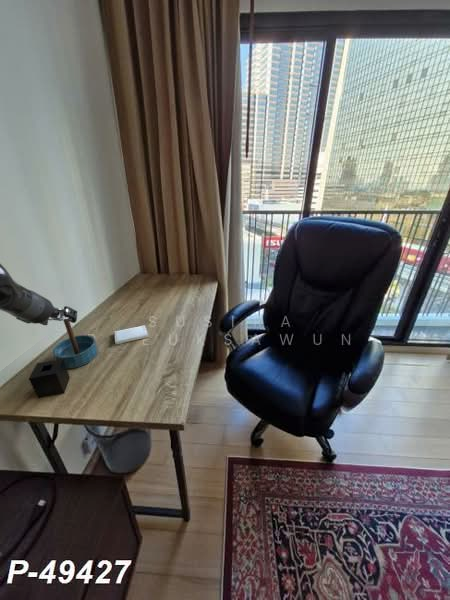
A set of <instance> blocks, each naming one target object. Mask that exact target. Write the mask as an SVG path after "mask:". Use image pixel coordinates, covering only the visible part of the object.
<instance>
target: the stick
mask: <svg viewBox="0 0 450 600" xmlns="http://www.w3.org/2000/svg"><path fill="white" fill-rule="evenodd" d="M65 317H66V318H67V316H65ZM62 321H63V324H64V326H65V329H66V332H67V335H68V338H70V341H71V344H72V347H73V350H74V353H75V355H76V354H79V353H80V351H79V348H78V345H77V342H76V339H75V336H76V335H75V334H74V330H73V326H72V325H71V322H70V321H68V320H62Z"/></svg>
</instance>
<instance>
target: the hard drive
mask: <svg viewBox="0 0 450 600" xmlns="http://www.w3.org/2000/svg"><path fill="white" fill-rule="evenodd" d="M148 337H149V335H148V330H147V327H146V325H140V326H134V327H130V328H124V329H121V330H115V331H114V343H115V345H120V344H124V343H129V342H132V341H137V340H141V339H145V338H148Z"/></svg>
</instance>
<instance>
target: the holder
mask: <svg viewBox="0 0 450 600" xmlns="http://www.w3.org/2000/svg"><path fill="white" fill-rule="evenodd" d="M70 379H71V377H70V374H69V371H68V368H66V366H65V363H64V361H63V359H58V360H55V359H52V360H47V361H41V362H37V363H36V365H35V367H34V368H33V370H32V372H31V374H30V375H29V377H28V381H29V382H30V385H31V387H32V389H33V391H34V393H35V395H36V398H37V399H44V398H48V397H49V398H50V397H53V396H58V395H63V394H65V392H66V390H67V388H68V384H69V382H70Z"/></svg>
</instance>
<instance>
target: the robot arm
mask: <svg viewBox="0 0 450 600" xmlns="http://www.w3.org/2000/svg"><path fill="white" fill-rule="evenodd" d="M0 311H2V312H4V313H7V314H9V315H11V316H12V317H15V319H16V320H18V321H20V322H23V323H25V324H34V325H35V324H40V325H43V326H48V325H49V321H59V322H62V321H63V320H68V321H70V323H72V324H75V323H76V322H78V310H75V309H73V308H72V307H71V306H68V305H65V306H63V308H59V307H55V306H54V305H53V303H52V301H50V300H49V299H48V298H46V297H44V296H42V295H41V294H39V293H37V292H36V291H34V290H31V289H28V288H27V287H25V286H23V285H22V284H19V283H18V282H16V280H14V279H13V277H12V276H11V274H10V273H9V271H8V270H7V268H6V267H4V265H2V264H1V263H0ZM65 316H67V318H66V317H65Z"/></svg>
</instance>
